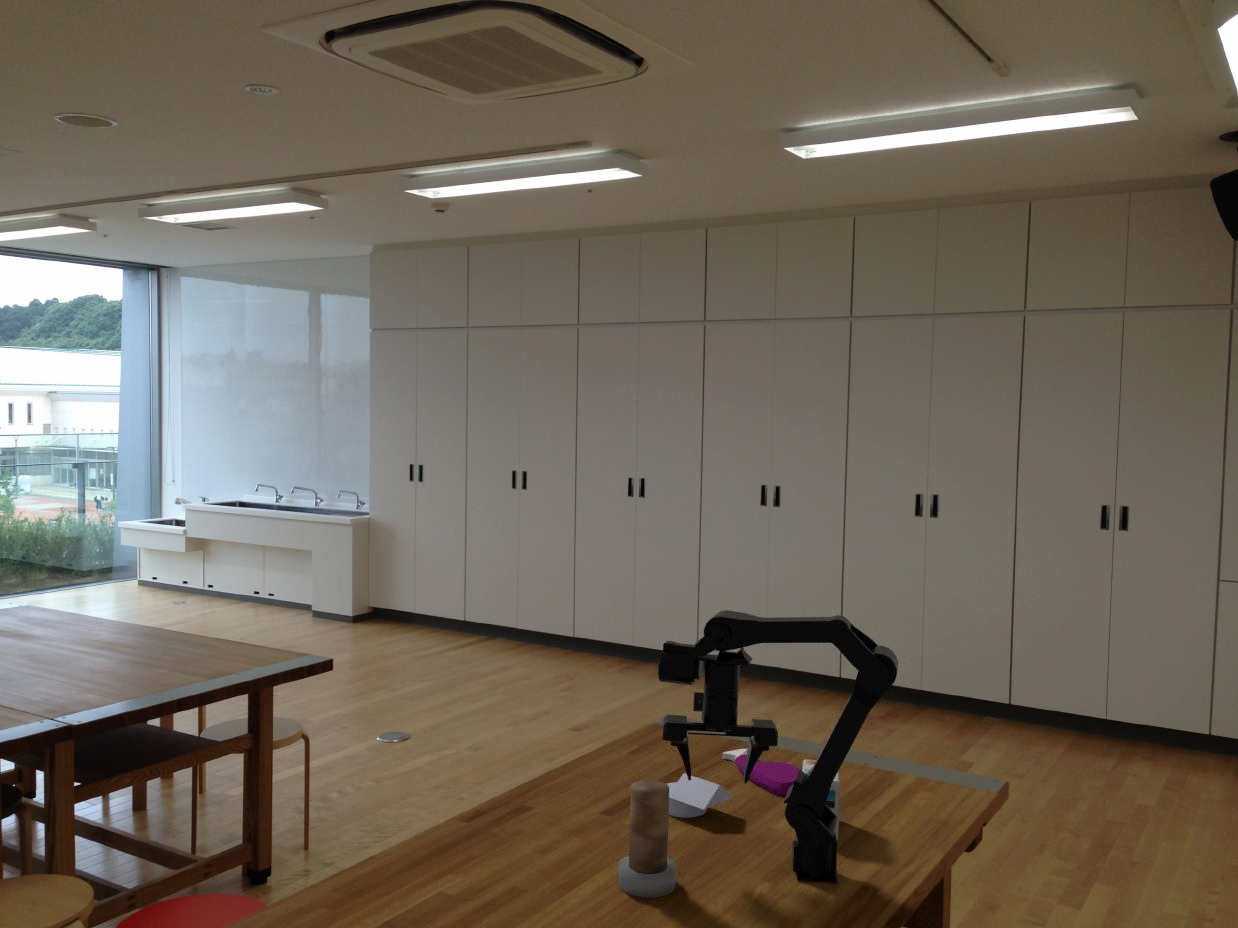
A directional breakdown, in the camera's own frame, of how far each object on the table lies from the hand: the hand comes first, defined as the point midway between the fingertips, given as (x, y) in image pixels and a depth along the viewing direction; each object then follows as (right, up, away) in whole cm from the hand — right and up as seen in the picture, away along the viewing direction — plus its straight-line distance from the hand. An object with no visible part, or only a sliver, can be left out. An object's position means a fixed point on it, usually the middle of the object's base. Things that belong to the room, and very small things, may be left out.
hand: (717, 780), depth 171 cm
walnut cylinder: (-12, -10, -10) cm, 18 cm away
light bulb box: (+20, -13, +14) cm, 28 cm away
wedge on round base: (-3, -12, +21) cm, 25 cm away
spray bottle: (+14, -12, +42) cm, 46 cm away
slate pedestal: (-12, -13, -9) cm, 20 cm away
